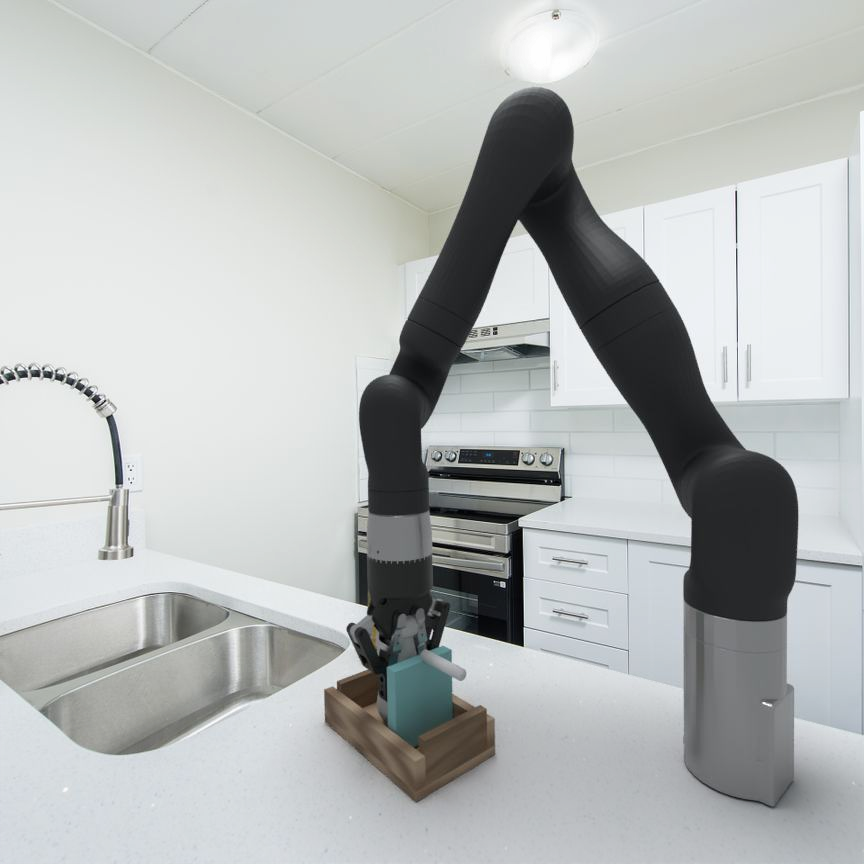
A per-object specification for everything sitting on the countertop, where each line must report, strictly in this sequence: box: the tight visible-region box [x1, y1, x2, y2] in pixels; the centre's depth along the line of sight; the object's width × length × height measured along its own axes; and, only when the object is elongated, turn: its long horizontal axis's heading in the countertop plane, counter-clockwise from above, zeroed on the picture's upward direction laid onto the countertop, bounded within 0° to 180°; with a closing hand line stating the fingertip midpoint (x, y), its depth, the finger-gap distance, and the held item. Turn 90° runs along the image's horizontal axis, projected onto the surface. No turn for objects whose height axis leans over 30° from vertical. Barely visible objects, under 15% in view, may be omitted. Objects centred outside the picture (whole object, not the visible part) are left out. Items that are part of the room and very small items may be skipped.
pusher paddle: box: [387, 645, 467, 747], centre depth 57 cm, size 8×8×10 cm
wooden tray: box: [323, 669, 496, 803], centre depth 61 cm, size 18×11×6 cm, turn 40°
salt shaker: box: [377, 615, 418, 728], centre depth 62 cm, size 6×6×13 cm
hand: (402, 696), depth 62 cm, fingers closed on salt shaker, 3 cm apart
